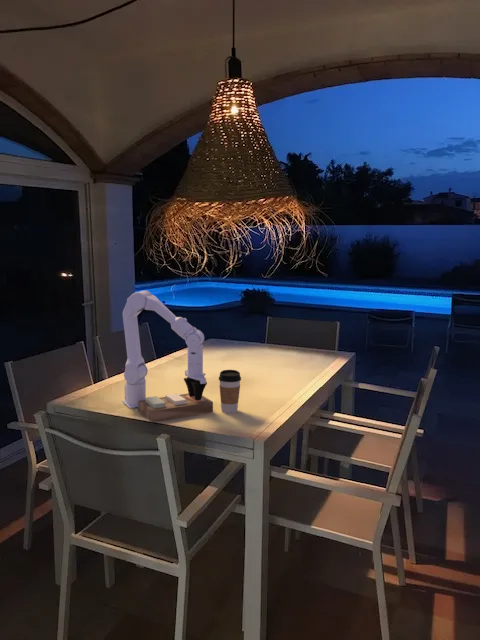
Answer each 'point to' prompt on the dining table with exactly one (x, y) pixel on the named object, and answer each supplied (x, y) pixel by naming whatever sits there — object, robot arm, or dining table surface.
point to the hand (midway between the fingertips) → (195, 397)
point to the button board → (175, 409)
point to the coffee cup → (229, 390)
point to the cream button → (175, 399)
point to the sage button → (155, 402)
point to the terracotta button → (194, 399)
